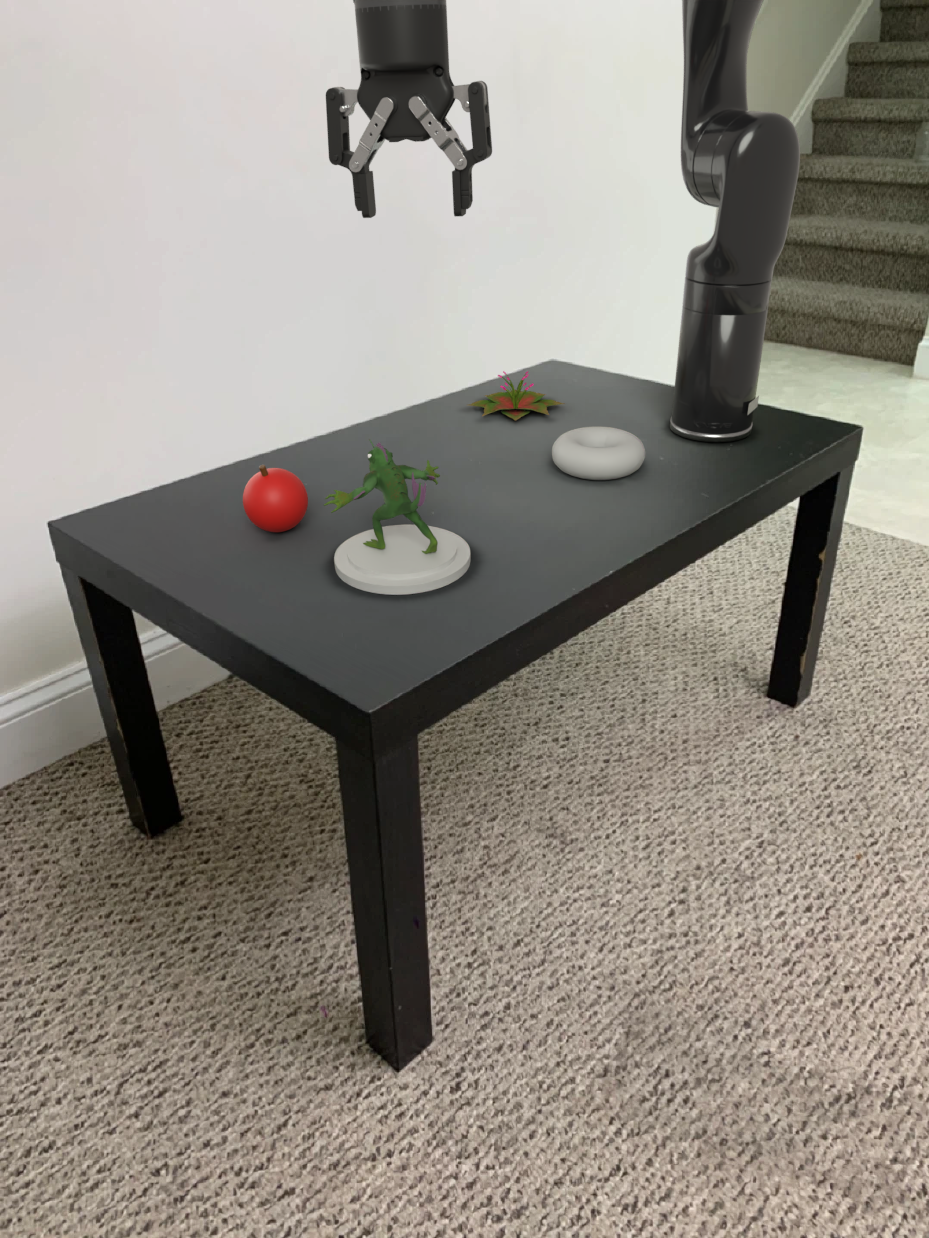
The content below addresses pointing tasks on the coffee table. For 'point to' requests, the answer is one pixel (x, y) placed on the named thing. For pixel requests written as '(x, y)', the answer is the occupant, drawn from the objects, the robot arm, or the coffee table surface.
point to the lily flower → (515, 401)
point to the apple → (275, 499)
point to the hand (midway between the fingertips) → (414, 216)
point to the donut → (598, 453)
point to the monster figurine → (398, 536)
